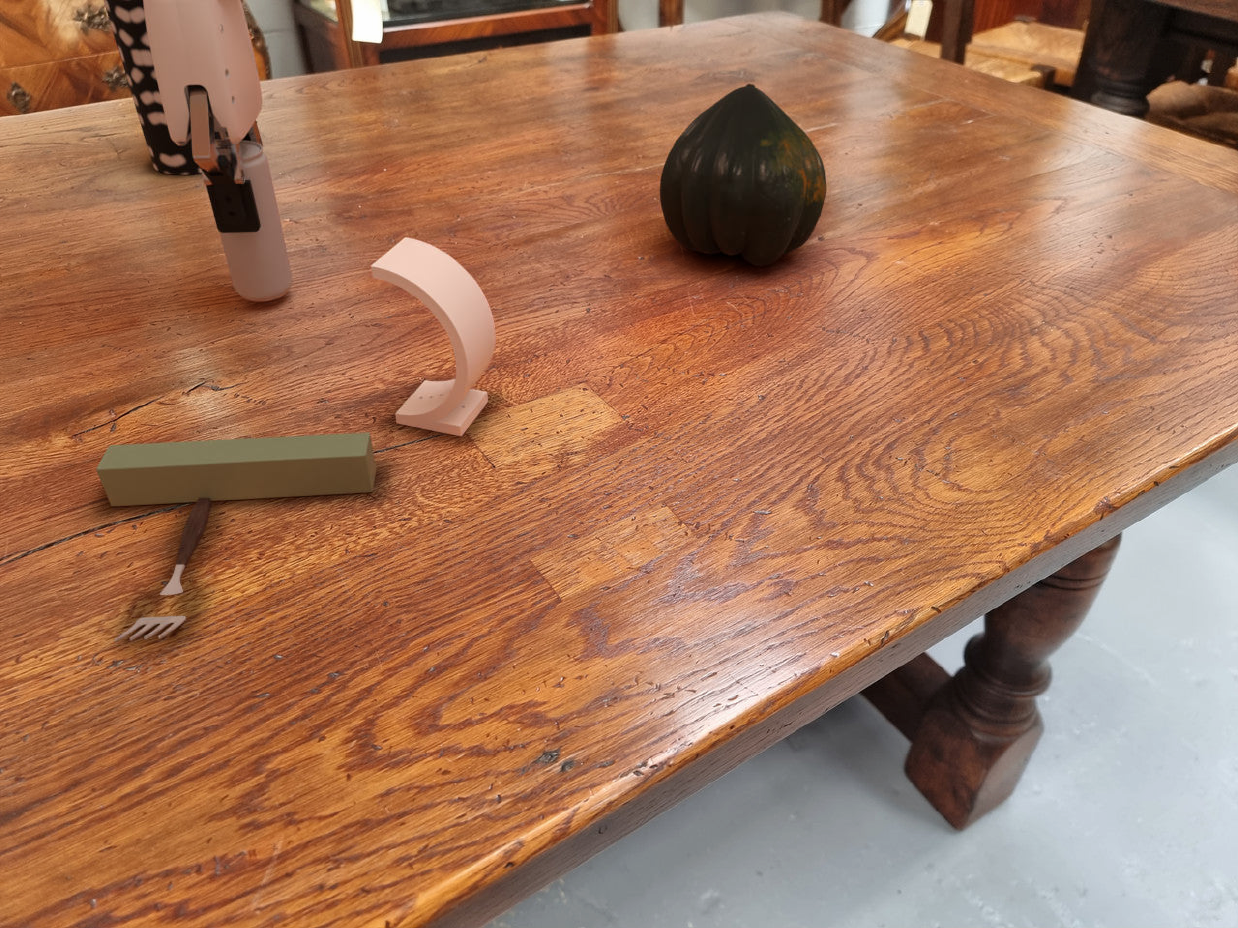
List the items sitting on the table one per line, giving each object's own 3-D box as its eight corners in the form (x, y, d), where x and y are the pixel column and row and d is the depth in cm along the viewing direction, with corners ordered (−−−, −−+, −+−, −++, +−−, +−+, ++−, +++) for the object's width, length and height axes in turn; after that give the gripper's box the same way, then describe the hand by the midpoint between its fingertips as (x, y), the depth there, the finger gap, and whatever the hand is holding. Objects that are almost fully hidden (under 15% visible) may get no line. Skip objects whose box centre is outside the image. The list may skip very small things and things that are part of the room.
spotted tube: (215, 144, 109) (167, -46, 97) (243, 164, 104) (195, -34, 92) (143, 159, 105) (82, -38, 93) (168, 180, 100) (107, -25, 88)
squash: (737, 248, 76) (822, 80, 75) (607, 204, 84) (682, 52, 83) (801, 308, 87) (875, 164, 86) (680, 264, 96) (747, 132, 95)
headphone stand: (426, 389, 68) (405, 236, 61) (501, 404, 67) (489, 249, 60) (396, 423, 65) (370, 265, 57) (474, 439, 63) (458, 280, 56)
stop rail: (111, 507, 57) (95, 469, 56) (123, 482, 59) (108, 444, 58) (372, 492, 59) (365, 455, 57) (377, 468, 61) (370, 431, 59)
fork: (239, 474, 61) (232, 449, 60) (174, 662, 48) (163, 636, 47) (198, 475, 61) (190, 451, 59) (122, 665, 48) (110, 640, 47)
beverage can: (291, 274, 81) (262, 137, 74) (297, 298, 78) (267, 157, 70) (233, 282, 80) (197, 143, 72) (237, 307, 76) (199, 164, 69)
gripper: (164, -57, 70) (223, 179, 81) (87, -10, 56) (170, 264, 68) (267, -57, 70) (311, 177, 82) (214, -11, 57) (276, 261, 68)
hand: (247, 214), depth 74 cm, fingers closed on beverage can, 4 cm apart
